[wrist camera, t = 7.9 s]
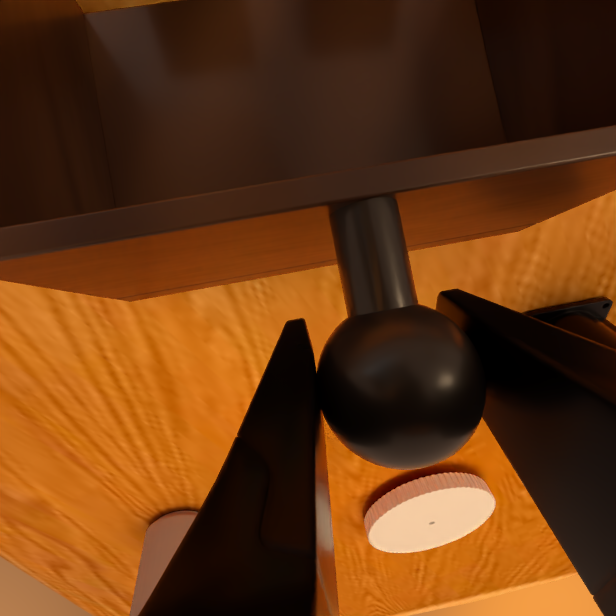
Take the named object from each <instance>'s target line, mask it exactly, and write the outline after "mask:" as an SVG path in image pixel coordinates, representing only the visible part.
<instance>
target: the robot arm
mask: <svg viewBox="0 0 616 616" xmlns="http://www.w3.org/2000/svg"><path fill="white" fill-rule="evenodd" d="M612 303H613V302H612V301H611V300H610V299H608V298H607V297H602V298H597V299H592V300H587V301H582V302H576V303H571V304H566V305H561V306H556V307H551V308H545V309H540V310H535V311H531V312H528V313H527V314H526V315H524V314H522V313H519V312H517V311H514V310H511V309H509V308H506V307H504V306H501V305H498V304H496V303H493V302H491V301H488V300H485V299H483V298H480V297H477V296H475V295H472V294H470V293H467V292H464V291H462V290H459V289H452V290H447V291H442V292H440V293H439V294H438V297H437V305H436V311H438V312H440V313H442V314H443V315H445V316H447V317H448V318H449V319H451V320H452V321H453V322H454V323H456V324H457V325H458V326H459V327H460V328H461V329H462V330H463V331H464V332H465V333H466V335H467V336H468V337H469V339H470V340H471V341H472V343H473V345H474V346H475V348H476V350H477V352H478V354H479V357H480V359H481V362H482V365H483V369H484V372H485V378H486V402H485V407H484V411H483V415H482V417H483V419H484V421H485V422H486V424H487V426H488V427H489V429H490V430H491V432H492V434H493V435H494V437H495V439H496V440H497V442H498V444H499V445H500V447H501V448H502V450H503V452H504V453H505V455H506V457H507V458H508V460H509V461H510V463H511V465H512V466H513V468H514V470H515V471H516V473H517V474H518V476H519V478H520V479H521V481H522V483H523V484H524V486H525V487H526V489H527V491H528V492H529V494H530V496H531V497H532V499H533V500H534V502H535V504H536V505H537V507H538V509H539V510H540V512H541V514H542V515H543V517H544V518H545V520H546V522H547V523H548V525H549V527H550V528H551V530H552V531H553V533H554V535H555V536H556V538H557V540H558V541H559V543H560V544H561V546H562V548H563V549H564V551H565V553H566V554H567V556H568V557H569V559H570V561H571V562H572V564H573V566H574V567H575V569H576V571H577V572H578V574H579V575H580V577H581V579H582V580H583V582H584V584H585V585H586V587H587V588H588V590H589V592H590V593H591V594H592V595H594V596H593V599H594V600H595V602H596V604H597V605H598V607H599V608H600V610H601V612H602V613H603V615H604V616H616V326H615V325H613V324H612V323H610V322H609V321H608V320H606V317H607V314H608V312H609V310H610V308H611V306H612ZM237 436H238V437H236V438H235V440H234V442H233V444H232V447H231V449H230V451H229V453H228V456H227V458H226V460H225V462H224V464H223V466H222V468H221V470H220V472H219V475H218V477H217V479H216V481H215V483H214V485H213V486H212V488H211V490H210V492H209V494H208V496H207V497H206V499H205V501H204V503H203V505H202V506H201V508H200V510H199V512H198V514H197V515H196V517H195V519H194V521H193V522H192V524H191V526H190V528H189V529H188V531H187V533H186V534H185V536H184V538H183V540H182V541H181V543H180V545H179V547H178V548H177V550H176V552H175V553H174V555H173V557H172V559H171V560H170V562H169V564H168V565H167V567H166V569H165V571H164V572H163V574H162V576H161V578H160V579H159V581H158V583H157V584H156V586H155V588H154V590H153V591H152V593H151V595H150V597H149V598H148V600H147V602H146V603H145V605H144V607H143V608H142V610H141V612H140V613H139V614H138V616H339V606H338V594H337V581H336V569H335V557H334V545H333V532H332V520H331V508H330V495H329V483H328V471H327V458H326V446H325V434H324V421H323V413H322V410H321V406H320V400H319V391H318V381H317V373H316V366H315V360H314V353H313V348H312V344H311V340H310V337H309V333H308V329H307V326H306V322H305V320H304V319H303V318H300V319H294V320H289V321H287V322H286V324H285V326H284V328H283V330H282V333H281V335H280V337H279V340H278V342H277V344H276V346H275V349H274V351H273V353H272V356H271V358H270V360H269V362H268V365H267V367H266V369H265V372H264V374H263V376H262V378H261V381H260V383H259V385H258V388H257V390H256V392H255V394H254V397H253V399H252V401H251V404H250V406H249V408H248V410H247V413H246V415H245V417H244V420H243V422H242V424H241V426H240V429H239V431H238V433H237Z"/></svg>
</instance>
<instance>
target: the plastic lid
mask: <svg viewBox="0 0 616 616" xmlns="http://www.w3.org/2000/svg"><path fill="white" fill-rule="evenodd" d="M374 503H375V504H373V505H372V506H371V508H369V511H367V514H366V517H365V520H364V524H365V529H366V532H367V536H368V540H369V542H370V543H371V545H372V546H373V547H375V548H377V549H378V550H381V551H384V552H386V551H387V552H392V553H394V552H396V553H407V552H410V553H412V552H417V551H422V550H427V549H432V548H436V547H438V546H442V545H444V544H447V543H451V542H452V541H455V540H457V539H460V538H462V537H463V536H466V534H469V533H470V532H471V531H474V529H477V528H478V527H479V526H481V525H482V523H484V522H485V521H486V520H487V518H489V517H490V515H492V512H493V511H494V510H493V509H495V506H496V505H495V504H496V502H495V498H494V496H493V495H492V493H491V491H490V489H489V488H488V486H487V484H486V483H485V481H484V480H483V479H481V478H479V477H478V476H475V475H471V474H467V473H462V472H460V473H457V472H454V473H452V472H449V473H443V474H440V473H439V474H437V475H434V474H433V475H431V476H425V477H424V478H422V477H421V478H419V479H417V480H416V479H415V480H413V481H412V482H410V481H409V482H407V483H406V484H402V486H400V487H399V486H398V487H396V489H392V490H391V492H387V493H386V495H383V496H382V498H379V499H378V501H376V502H374Z"/></svg>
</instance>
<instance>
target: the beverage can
mask: <svg viewBox="0 0 616 616" xmlns="http://www.w3.org/2000/svg"><path fill="white" fill-rule="evenodd" d="M197 514H198V512H196V511H177V512H172V513H169V514H166V515H164V516H162V517H161V518H159V519H158V520H157V521H155V522H154V523H152V524H151V525H150V526H149V527H148V529H147V531H146V535H145V540H144V545H143V550H142V555H141V560H140V565H139V570H138V575H137V581H136V586H135V591H134V596H133V601H132V606H131V611H130V616H138V614H139V613H140V612H141V610H142V608H143V607H144V605H145V603H146V602H147V600H148V598H149V597H150V595H151V593H152V591H153V590H154V588H155V586H156V584H157V583H158V581H159V579H160V578H161V576H162V574H163V572H164V571H165V569H166V567H167V565H168V564H169V562H170V560H171V559H172V557H173V555H174V553H175V552H176V550H177V548H178V547H179V545H180V543H181V541H182V540H183V538H184V536H185V534H186V533H187V531H188V529H189V528H190V526H191V524H192V522H193V521H194V519H195V517H196V515H197Z"/></svg>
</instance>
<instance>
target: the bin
mask: <svg viewBox="0 0 616 616" xmlns="http://www.w3.org/2000/svg"><path fill="white" fill-rule="evenodd" d="M614 190H616V0H179V1H172V2H165V3H157V4H150V5H143V6H135V7H128V8H121V9H113V10H106V11H99V12H91V13H84V14H83V12H82V10H81V8H80V7H79V5H78V4H77V2H76V1H75V0H0V280H2V281H8V282H14V283H20V284H26V285H32V286H38V287H44V288H50V289H56V290H62V291H68V292H74V293H80V294H86V295H92V296H98V297H105V298H111V299H118V300H124V301H130V302H131V301H136V300H142V299H147V298H153V297H158V296H164V295H169V294H175V293H181V292H186V291H192V290H197V289H203V288H208V287H214V286H219V285H225V284H230V283H236V282H241V281H247V280H252V279H258V278H264V277H269V276H275V275H280V274H286V273H291V272H297V271H302V270H308V269H313V268H319V267H324V266H330V265H336V264H338V268H339V273H340V278H341V283H342V288H343V293H344V299H345V304H346V309H347V314H348V318H347V319H345V320H344V321H343V322H342V323H341V324H340V325H339V326H338V327H337V328H336V329H335V330H334V332H333V333H332V334H331V335H330V337H329V339H328V340H327V342H326V344H325V346H324V348H323V350H322V353H321V355H320V359H319V363H318V368H317V381H318V391H319V400H320V406H321V410H322V413H323V415H324V418H325V420H326V421H327V423H328V425H329V427H330V428H331V430H332V431H333V432H334V434H335V435H336V436H337V438H338V439H339V440H340V441H341V442H342V443H343V444H344V445H345V446H346V447H347V448H348V449H350V450H351V451H352V452H353V453H355V454H356V455H358V456H360V457H361V458H363V459H365V460H367V461H369V462H371V463H374V464H376V465H379V466H383V467H387V468H393V469H401V470H413V469H419V468H425V467H428V466H432V465H434V464H437V463H439V462H441V461H444V460H446V459H447V458H449V457H450V456H452V455H454V454H455V453H456V452H457V451H459V450H460V449H461V448H462V447H463V446H464V445H465V444H466V443H467V442H468V441H469V439H470V438H471V436H472V435H473V434H474V432H475V430H476V429H477V427H478V425H479V423H480V420H481V417H482V415H483V411H484V407H485V402H486V378H485V372H484V369H483V365H482V362H481V359H480V357H479V354H478V352H477V350H476V348H475V346H474V345H473V343H472V341H471V340H470V339H469V337H468V336H467V335H466V333H465V332H464V331H463V330H462V329H461V328H460V327H459V326H458V325H457V324H456V323H454V322H453V321H452V320H451V319H449V318H448V317H447V316H445V315H443V314H442V313H440V312H438V311H436V310H434V309H431V308H429V307H427V306H424V305H420V304H418V300H417V295H416V290H415V285H414V280H413V276H412V271H411V266H410V261H409V256H408V251H413V250H419V249H424V248H430V247H435V246H441V245H446V244H452V243H457V242H463V241H468V240H474V239H479V238H485V237H491V236H496V235H502V234H507V233H513V232H518V231H520V230H523V229H525V228H527V227H530V226H532V225H534V224H536V223H539V222H542V221H544V220H546V219H549V218H551V217H553V216H556V215H558V214H560V213H563V212H565V211H567V210H570V209H572V208H574V207H577V206H579V205H581V204H584V203H586V202H588V201H591V200H593V199H595V198H598V197H600V196H602V195H605V194H607V193H609V192H612V191H614Z"/></svg>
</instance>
